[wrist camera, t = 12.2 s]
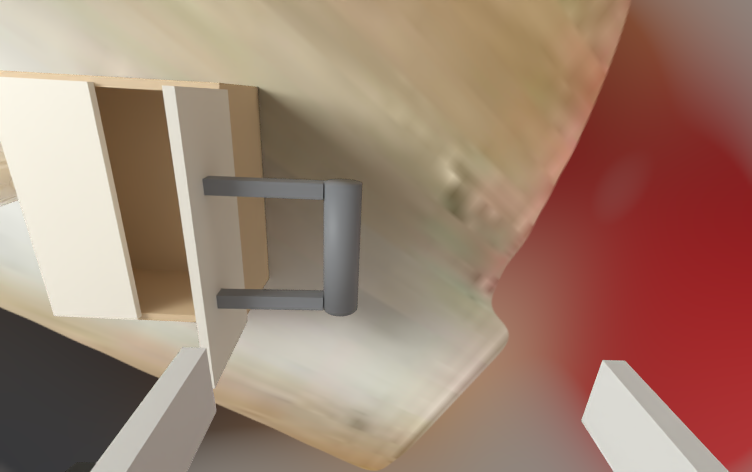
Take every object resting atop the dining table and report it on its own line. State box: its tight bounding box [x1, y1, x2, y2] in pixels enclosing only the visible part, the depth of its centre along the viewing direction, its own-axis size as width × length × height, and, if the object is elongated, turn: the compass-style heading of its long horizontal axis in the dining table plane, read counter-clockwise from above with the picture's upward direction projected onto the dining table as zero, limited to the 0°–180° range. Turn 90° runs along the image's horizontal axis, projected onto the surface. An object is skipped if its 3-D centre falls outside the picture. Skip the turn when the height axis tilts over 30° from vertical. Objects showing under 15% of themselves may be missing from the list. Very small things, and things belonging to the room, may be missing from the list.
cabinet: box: [0, 71, 269, 322], centre depth 33 cm, size 20×16×10 cm
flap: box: [162, 85, 362, 388], centre depth 25 cm, size 19×8×10 cm
